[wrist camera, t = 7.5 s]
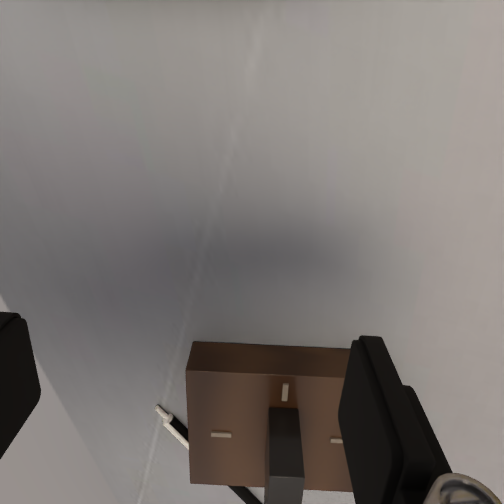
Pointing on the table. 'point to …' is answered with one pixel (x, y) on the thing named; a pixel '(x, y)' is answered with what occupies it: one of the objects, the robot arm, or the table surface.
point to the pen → (182, 436)
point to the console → (263, 411)
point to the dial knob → (284, 458)
